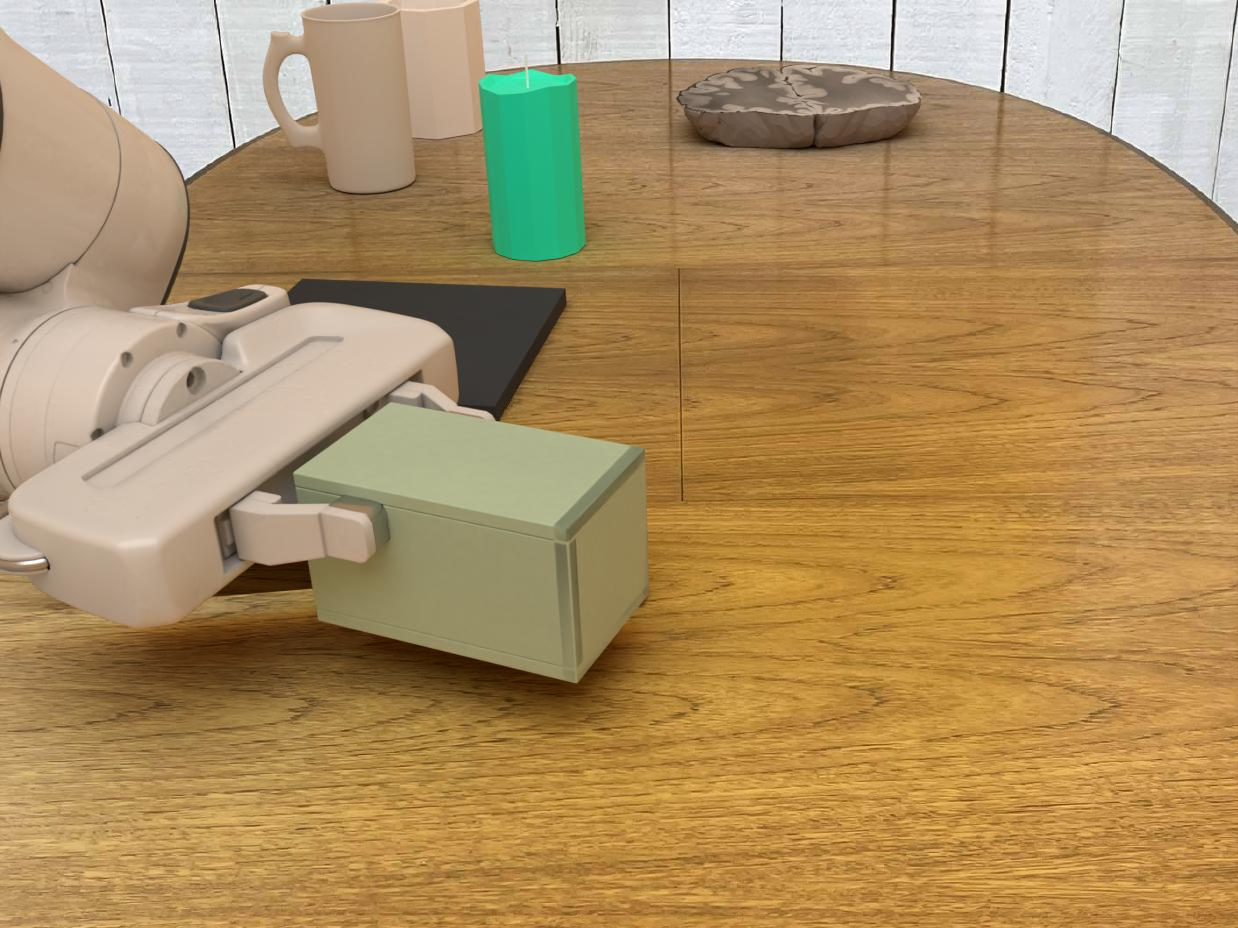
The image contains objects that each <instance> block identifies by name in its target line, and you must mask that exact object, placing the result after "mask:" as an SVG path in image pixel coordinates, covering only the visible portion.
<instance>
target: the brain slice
mask: <svg viewBox="0 0 1238 928" xmlns="http://www.w3.org/2000/svg"><path fill="white" fill-rule="evenodd" d="M922 99H923V95H922V93H921V91H919V90H918V88H917V87H916V86H915V85H914V84H913V83H912V82H910V81H909V80H908V79H904V78H894V77H892V76H888V75H885V74H882V73H877V72H876V73H875V72H868V71H866V70H861V69H856V68H846V67H841V66H835V65H821V64H820V65H817V64H803V63H801V64H789V65H785V66H782V67H781V68H779V69H777V68H772V67H765V66H756V67H737V68H732V69H729V70H727V71H725V72H716V73H712V74H709V75H708V76H705V77H704V80H703V79H702V80H699V81H695V82H694V83H692V84H691V85H690V86H688V87H686V88H685V89H681V90H680V91H678V95H677V96H676V97H675V100H676V101H677V102H678V104H679V105H680V106H681V107H683V113H684V115H685V117H686V119H687V120H688V121H690V122H691V123H692V124H693V125H694V126H695V127H696V130H697V132H698V133H699V134H700V135H701V136H702V137H703V138H704V139H706V140H707V141H709V142H715V143H719V144H723V145H725V146H727V147H735V148H738V147H739V148H767V149H798V148H800V149H801V148H809V147H810V146H815V147H817V148H836V147H838V148H839V147H842V146H847V145H852V144H853V145H854V144H865V143H869V142H878V141H880V140H881V141H883V140H887V139H890V138H891V137H893V136H895V135H896V134H897V133H899V132H900V131H902V130H903V129H904V128H905V127H906V125H908V124H910V122H911V121H912V120H913V119H914V118H915V117H916V115H917V114H918V112H919V110H920V108H921V105H922Z"/></svg>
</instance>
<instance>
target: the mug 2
mask: <svg viewBox="0 0 1238 928" xmlns="http://www.w3.org/2000/svg"><path fill="white" fill-rule="evenodd" d="M375 2H376V3H387V4H392V5H396V6H398V7H400V8H401V11H400V17H401V25H402V34H403V44H404V54H405V65H406V76H407V87H408V98H409V108H410V119H411V129H412V139H426V140H443V139H450V138H454V137H455V138H456V137H461V136H468V135H474V134H476V133H478V132H479V131H481V130H483V128H482V117H481V106H480V95H479V84H478V82H479V81H480V80H481V79H483V78H484V77H485V76H486V75H487V74H486V63H485V53H484V52H485V51H484V42H483V41H484V40H483V32H482V31H483V29H482V19H481V18H482V17H481V7H480V0H377V1H375Z"/></svg>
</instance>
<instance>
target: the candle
mask: <svg viewBox="0 0 1238 928" xmlns="http://www.w3.org/2000/svg"><path fill="white" fill-rule="evenodd" d="M523 55H524V68H525V70H523V71H519V72H515V73H510V74H491V73H490V74H488V73H487V74H486V76H485V77H484V78H483V79H481V80H480V81H479V82H478V84H479V95H480V106H481V117H482V138H483V149H484V151H483V152H484V161H485V172H486V183H487V194H488V204H489V216H490V217H489V218H490V227H491V239H492V246H493V249H494V251H495V253H496V254H497V255H500V256H502V257H506V258H508V259H511V260H520V261H530V262H531V261H532V262H537V261H545V260H556V259H562V258H566V257H568V256H571V255H574V254H577V253H579V252H580V251H581V250H582V249H583V248H584V247H585V246H586V245H587V241H586V225H585V224H586V221H585V205H584V189H583V188H584V187H583V169H582V152H581V151H582V150H581V133H580V131H581V130H580V115H579V113H580V112H579V98H578V79H577V77H576V76H575V75H574V74H573V73H565V74H557V75H555V74H551V73H547V72H544V71H540V70H536V69H533V68H530V69H529V68H528V67H529V66H528V65H529V64H528V53H524V54H523Z"/></svg>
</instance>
